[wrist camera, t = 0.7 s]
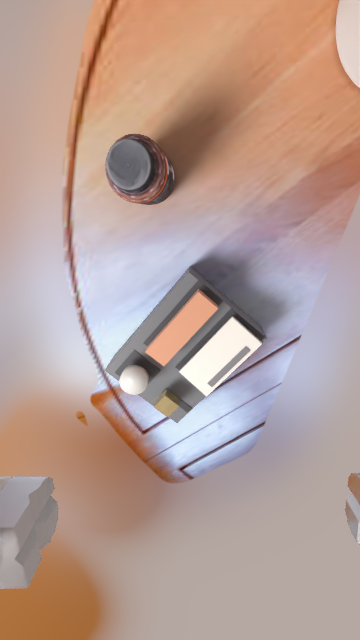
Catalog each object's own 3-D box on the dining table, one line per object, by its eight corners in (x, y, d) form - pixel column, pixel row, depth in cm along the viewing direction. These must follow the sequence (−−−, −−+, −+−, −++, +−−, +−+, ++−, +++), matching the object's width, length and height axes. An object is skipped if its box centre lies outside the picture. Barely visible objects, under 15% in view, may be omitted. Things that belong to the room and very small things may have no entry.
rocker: (232, 315, 37) (232, 317, 35) (261, 341, 37) (262, 344, 35) (180, 368, 40) (178, 372, 39) (207, 392, 40) (206, 397, 39)
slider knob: (167, 385, 41) (165, 395, 39) (180, 395, 41) (179, 406, 39) (156, 396, 42) (153, 407, 39) (169, 405, 42) (167, 417, 40)
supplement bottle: (180, 159, 35) (171, 136, 25) (168, 210, 37) (154, 210, 27) (132, 144, 35) (101, 115, 24) (122, 197, 37) (89, 192, 26)
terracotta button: (198, 288, 35) (198, 292, 33) (217, 305, 35) (218, 308, 34) (146, 347, 38) (144, 351, 36) (165, 361, 38) (163, 366, 37)
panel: (190, 265, 39) (189, 271, 36) (261, 326, 42) (267, 337, 38) (113, 357, 45) (104, 370, 41) (179, 406, 47) (177, 423, 43)
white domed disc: (132, 359, 39) (130, 365, 37) (154, 376, 39) (152, 381, 38) (116, 377, 40) (113, 383, 38) (138, 393, 40) (135, 399, 39)
